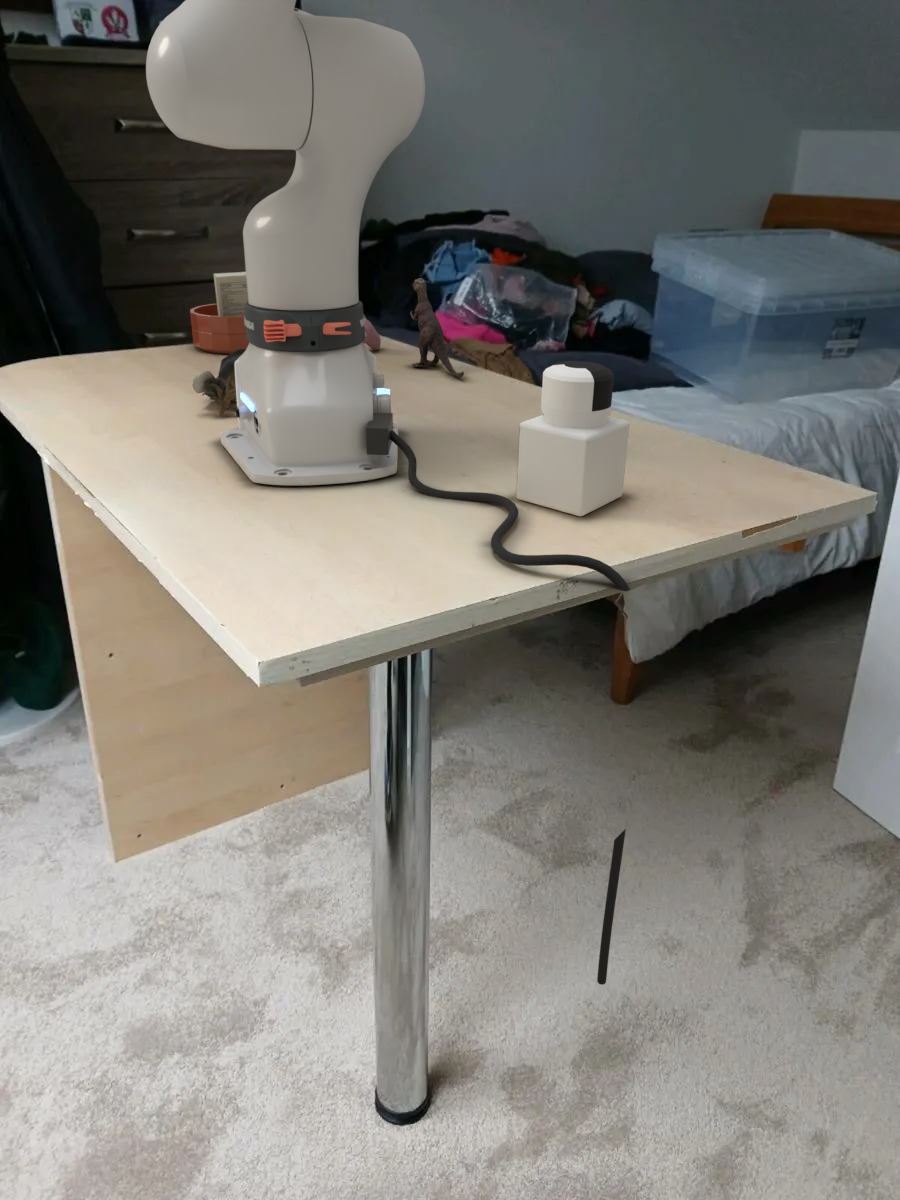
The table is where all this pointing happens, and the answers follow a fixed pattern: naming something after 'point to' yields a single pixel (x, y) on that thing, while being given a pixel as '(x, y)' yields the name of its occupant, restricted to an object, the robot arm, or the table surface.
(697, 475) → the table surface
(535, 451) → the medicine bottle
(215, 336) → the bowl
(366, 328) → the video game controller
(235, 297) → the printed carton
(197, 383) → the eagle figurine
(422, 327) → the dinosaur model
